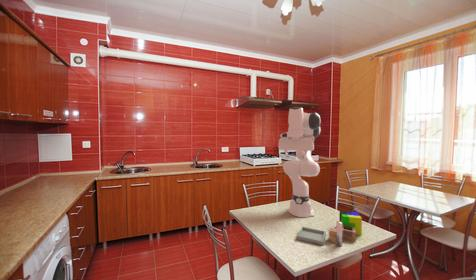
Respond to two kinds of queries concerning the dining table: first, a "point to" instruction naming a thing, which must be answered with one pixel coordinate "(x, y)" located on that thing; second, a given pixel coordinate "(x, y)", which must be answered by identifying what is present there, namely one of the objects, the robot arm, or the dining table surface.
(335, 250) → the dining table surface
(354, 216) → the puzzle toy
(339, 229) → the cylinder
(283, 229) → the dining table surface
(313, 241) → the tray
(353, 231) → the brown square socket box
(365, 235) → the dining table surface
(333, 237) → the oak block
